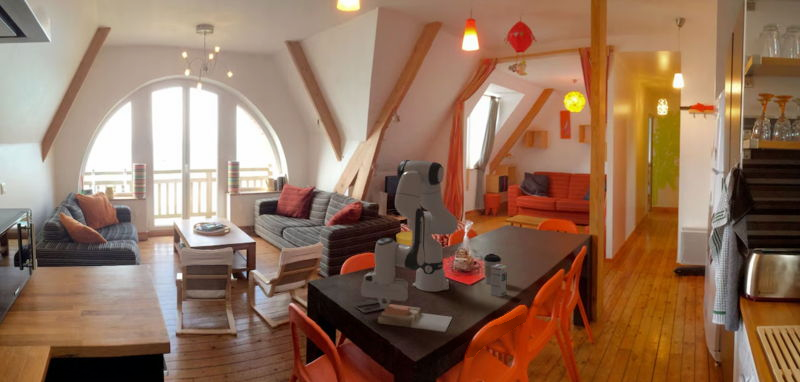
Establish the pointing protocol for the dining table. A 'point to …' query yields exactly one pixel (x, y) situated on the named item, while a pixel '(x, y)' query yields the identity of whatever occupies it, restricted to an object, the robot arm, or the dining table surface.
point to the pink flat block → (397, 309)
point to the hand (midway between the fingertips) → (384, 308)
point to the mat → (432, 322)
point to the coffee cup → (488, 263)
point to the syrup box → (498, 280)
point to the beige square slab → (400, 318)
